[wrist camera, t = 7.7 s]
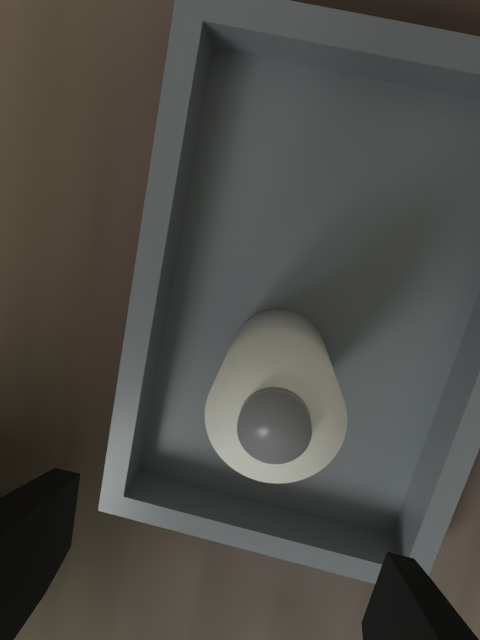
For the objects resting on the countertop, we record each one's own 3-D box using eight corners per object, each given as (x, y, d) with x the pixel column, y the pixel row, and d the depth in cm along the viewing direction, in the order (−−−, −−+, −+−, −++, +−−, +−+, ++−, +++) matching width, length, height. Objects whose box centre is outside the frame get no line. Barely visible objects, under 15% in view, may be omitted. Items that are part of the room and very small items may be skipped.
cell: (222, 387, 18) (188, 476, 11) (242, 300, 17) (215, 343, 10) (312, 409, 18) (328, 512, 11) (336, 321, 17) (369, 379, 10)
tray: (120, 476, 20) (97, 510, 18) (194, 18, 15) (178, -21, 13) (403, 549, 19) (420, 596, 17) (574, 92, 14) (632, 65, 12)
